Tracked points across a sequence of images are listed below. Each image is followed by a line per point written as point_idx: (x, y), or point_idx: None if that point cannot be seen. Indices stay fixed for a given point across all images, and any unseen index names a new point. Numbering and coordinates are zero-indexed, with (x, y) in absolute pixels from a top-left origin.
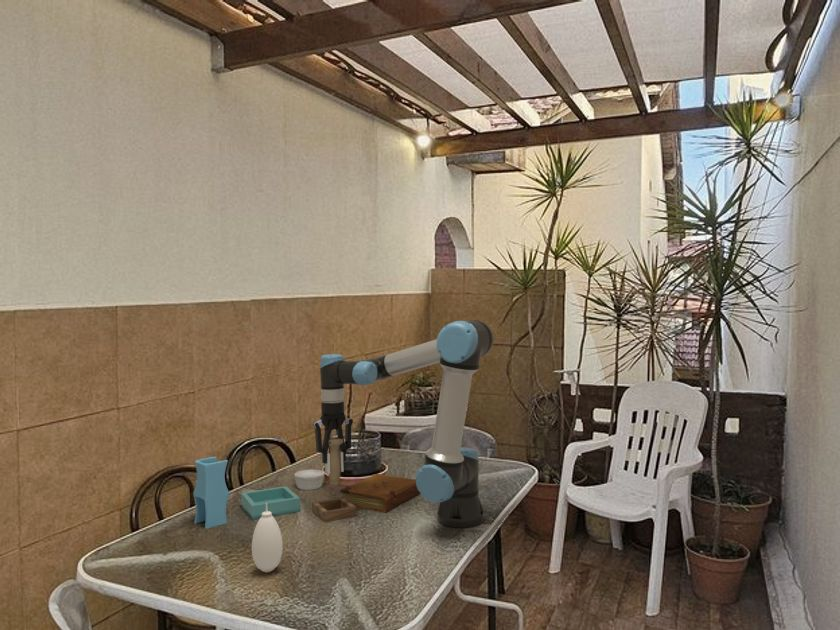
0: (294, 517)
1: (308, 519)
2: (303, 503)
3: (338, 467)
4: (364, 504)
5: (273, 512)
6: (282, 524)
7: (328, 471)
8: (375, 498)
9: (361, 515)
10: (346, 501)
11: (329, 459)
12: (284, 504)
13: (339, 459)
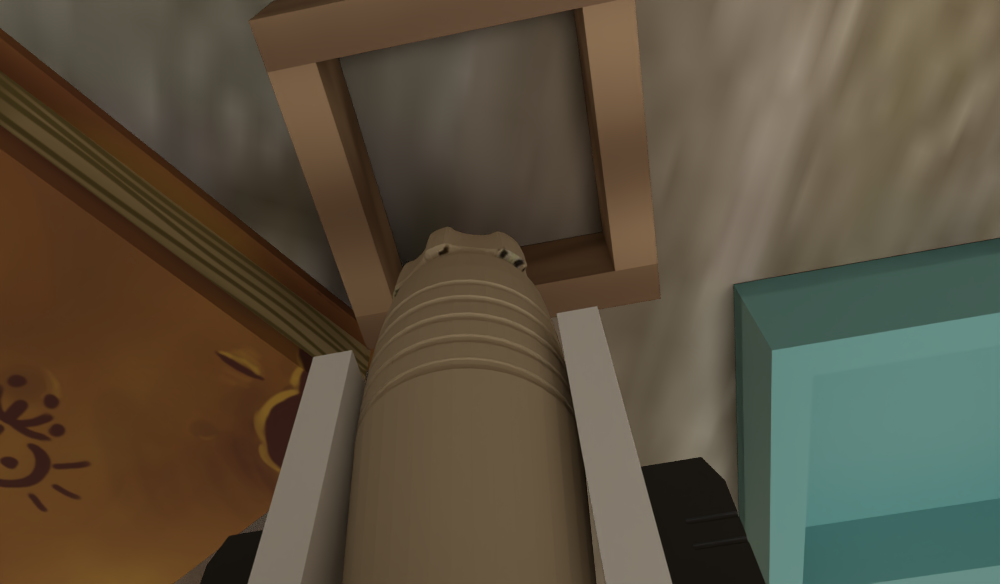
0: (825, 163)
1: (732, 70)
2: (659, 434)
3: (398, 385)
4: (180, 221)
5: (981, 258)
6: (990, 13)
7: (596, 333)
8: (11, 133)
9: (223, 10)
10: (345, 231)
11: (606, 517)
12: (908, 305)
13: (350, 537)
